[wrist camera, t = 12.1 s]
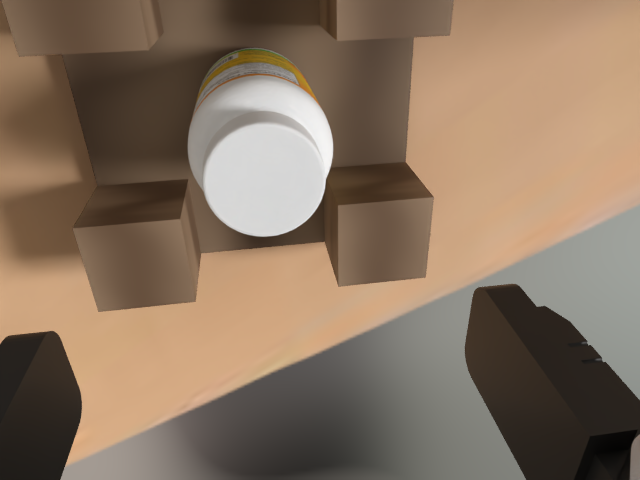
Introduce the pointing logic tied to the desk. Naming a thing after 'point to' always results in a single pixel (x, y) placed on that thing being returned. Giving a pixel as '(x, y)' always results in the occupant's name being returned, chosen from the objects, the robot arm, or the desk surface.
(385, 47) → the cross slot block
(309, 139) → the supplement bottle
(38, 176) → the desk surface
